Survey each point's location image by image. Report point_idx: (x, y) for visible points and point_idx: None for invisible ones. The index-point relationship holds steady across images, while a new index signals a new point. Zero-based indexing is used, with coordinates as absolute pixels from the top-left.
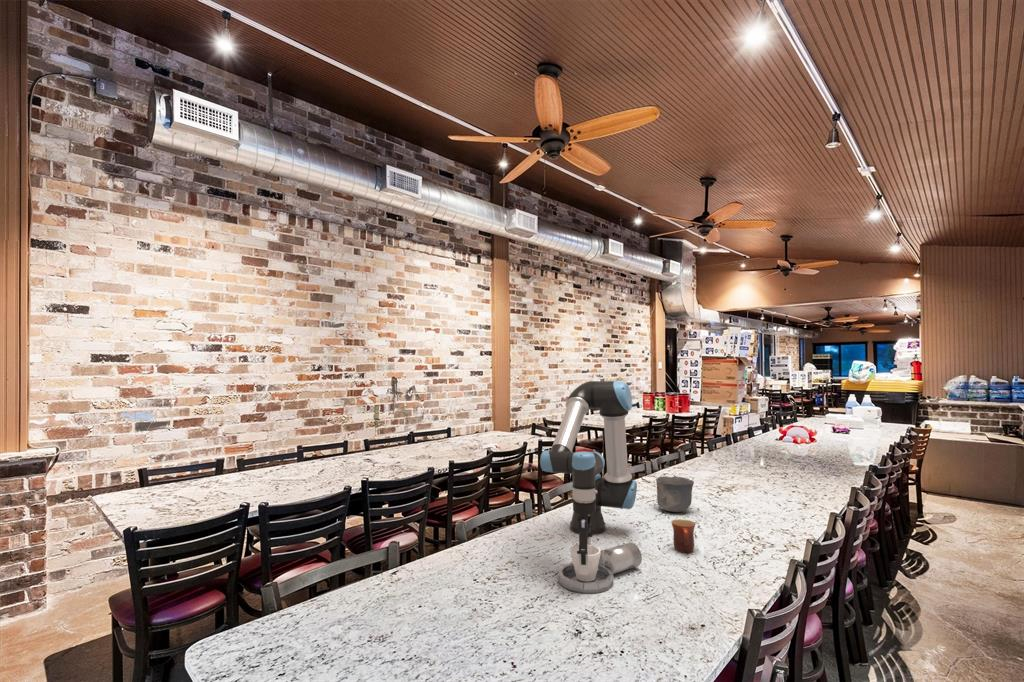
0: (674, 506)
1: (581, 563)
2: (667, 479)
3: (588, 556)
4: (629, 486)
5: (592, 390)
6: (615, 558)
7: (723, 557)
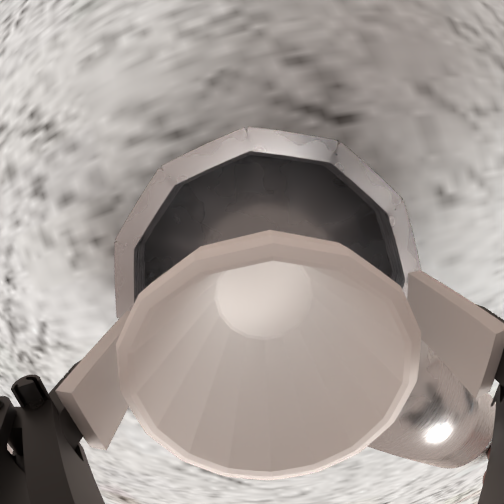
0: None
1: (75, 366)
2: None
3: (143, 427)
4: None
5: None
6: (368, 446)
7: (455, 489)
